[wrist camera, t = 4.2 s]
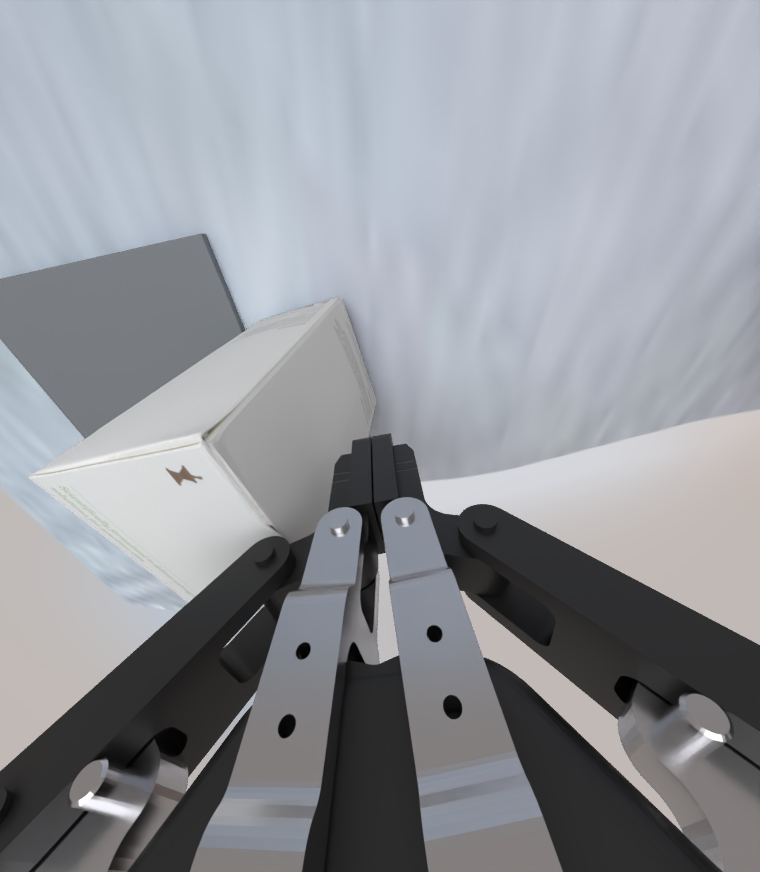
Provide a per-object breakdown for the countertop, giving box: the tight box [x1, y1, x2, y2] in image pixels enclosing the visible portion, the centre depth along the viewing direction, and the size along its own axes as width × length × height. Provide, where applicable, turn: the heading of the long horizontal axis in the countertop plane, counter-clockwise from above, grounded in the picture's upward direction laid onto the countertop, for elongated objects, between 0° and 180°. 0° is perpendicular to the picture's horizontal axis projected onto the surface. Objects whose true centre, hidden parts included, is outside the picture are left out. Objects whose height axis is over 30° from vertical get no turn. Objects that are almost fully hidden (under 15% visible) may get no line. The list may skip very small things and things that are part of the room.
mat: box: [0, 234, 245, 438], centre depth 23 cm, size 16×18×1 cm
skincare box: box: [29, 297, 376, 609], centre depth 16 cm, size 8×7×16 cm
